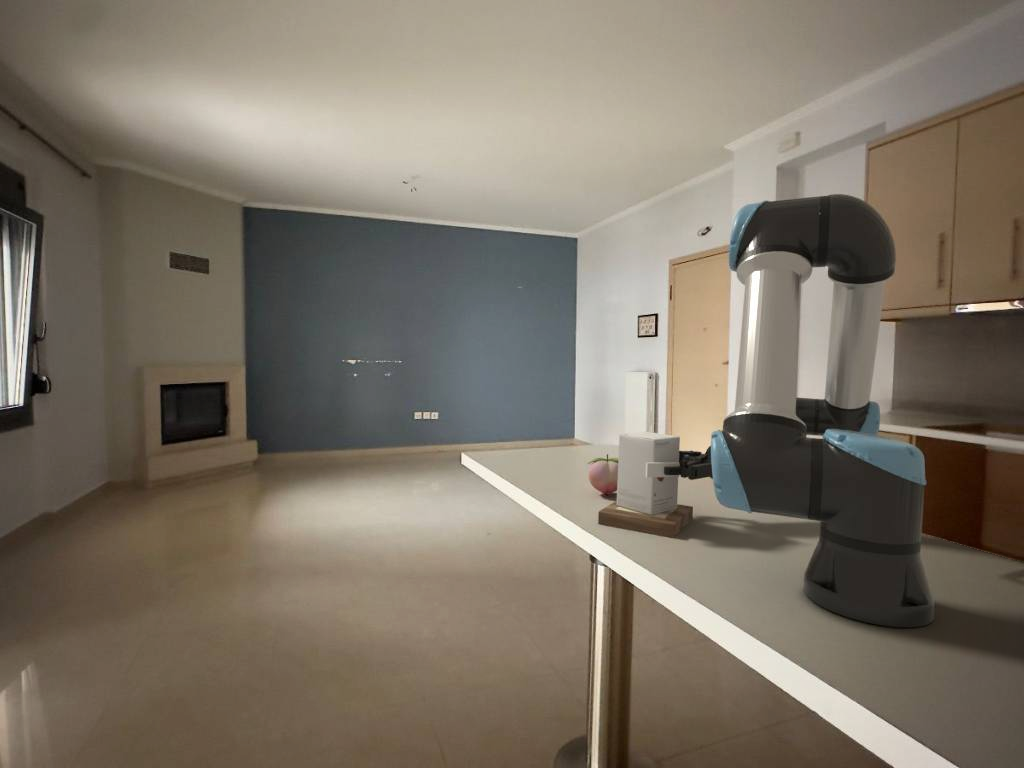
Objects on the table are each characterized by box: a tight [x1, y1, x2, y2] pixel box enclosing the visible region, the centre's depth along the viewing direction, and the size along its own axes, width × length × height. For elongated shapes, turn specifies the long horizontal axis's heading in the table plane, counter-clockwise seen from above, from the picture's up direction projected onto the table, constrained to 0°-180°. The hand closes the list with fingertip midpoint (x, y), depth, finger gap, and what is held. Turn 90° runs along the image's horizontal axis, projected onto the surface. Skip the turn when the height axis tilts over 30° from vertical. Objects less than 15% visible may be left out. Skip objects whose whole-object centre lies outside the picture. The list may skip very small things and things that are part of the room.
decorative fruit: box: [587, 454, 619, 496], centre depth 133 cm, size 9×8×10 cm
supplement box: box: [616, 431, 681, 515], centre depth 111 cm, size 9×9×15 cm
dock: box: [597, 500, 694, 539], centre depth 112 cm, size 15×15×3 cm
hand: (632, 463), depth 111 cm, fingers open, 13 cm apart
